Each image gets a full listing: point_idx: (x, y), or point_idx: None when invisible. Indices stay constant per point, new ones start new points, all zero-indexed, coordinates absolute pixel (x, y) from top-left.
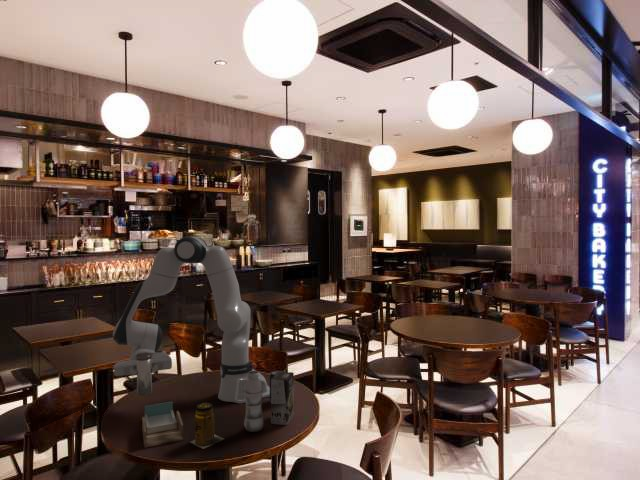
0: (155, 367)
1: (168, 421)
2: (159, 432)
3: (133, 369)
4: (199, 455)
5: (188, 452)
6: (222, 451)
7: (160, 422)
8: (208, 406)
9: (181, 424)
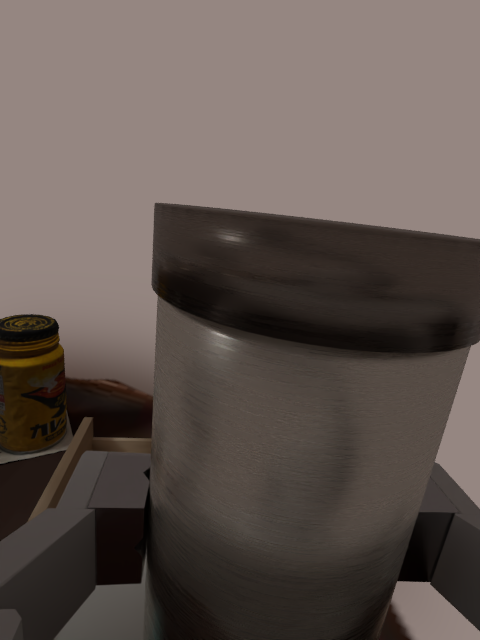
0: (84, 458)
1: None
2: None
3: (460, 500)
4: (89, 396)
5: (106, 411)
6: None
7: (128, 587)
8: (18, 318)
9: (88, 420)
